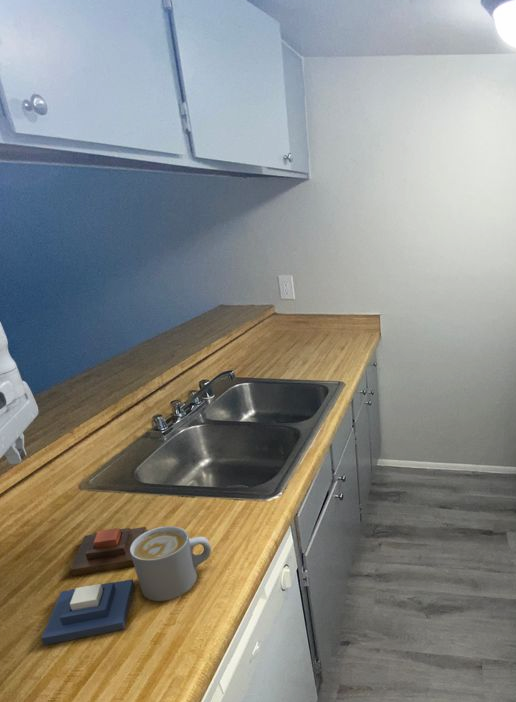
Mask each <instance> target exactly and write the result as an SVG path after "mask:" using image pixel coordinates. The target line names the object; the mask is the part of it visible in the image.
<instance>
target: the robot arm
mask: <svg viewBox="0 0 516 702" xmlns="http://www.w3.org/2000/svg"><path fill="white" fill-rule="evenodd" d="M37 416H39V406H38V403H37V402H36V398H35V397H34V394H33V392H32V390H31V388H30V386H29V384H28V383H27V381H25V380H23V379H22V376H21V373H20V370H19V368H18V364H17V362H16V361H15V360H14V359H13V357H12V355H11V354H10V351H9V340H8V337H7V334H6V331H5V329H4V327H3V325H2V322H1V321H0V459H1V458H2V457H3V456H5V457H6V461H7V462H8V464H9V465H19V464H21V463H22V461H23V460H24V459H25V457H26V456H27V451H26V449H25V434H24V431H26V430H27V429H28V427H29V426H30V425H31V423H33V422H34V420H35V419H36V418H37Z"/></svg>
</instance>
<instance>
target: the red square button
mask: <svg viewBox="0 0 516 702" xmlns="http://www.w3.org/2000/svg"><path fill="white" fill-rule="evenodd" d="M120 529H121V528H120V527H114V528H109V529H102V530H98V531H97V532H96V533H97V535H96V538H95V540H94V546H95V549H97V548H104V547H110V546H117V545H118V543H119V540H120V537H121V532H120Z"/></svg>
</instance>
